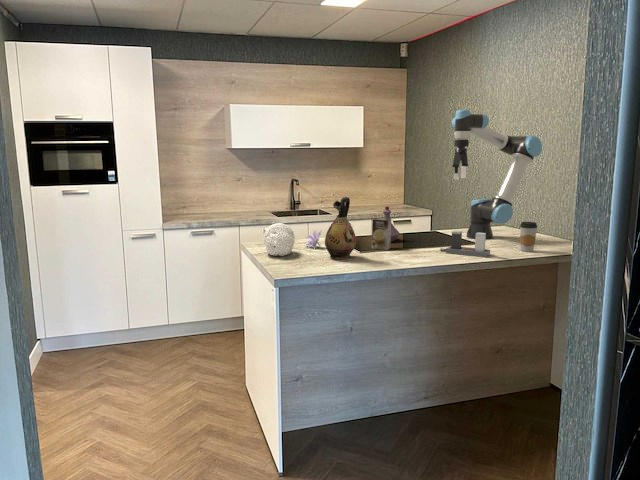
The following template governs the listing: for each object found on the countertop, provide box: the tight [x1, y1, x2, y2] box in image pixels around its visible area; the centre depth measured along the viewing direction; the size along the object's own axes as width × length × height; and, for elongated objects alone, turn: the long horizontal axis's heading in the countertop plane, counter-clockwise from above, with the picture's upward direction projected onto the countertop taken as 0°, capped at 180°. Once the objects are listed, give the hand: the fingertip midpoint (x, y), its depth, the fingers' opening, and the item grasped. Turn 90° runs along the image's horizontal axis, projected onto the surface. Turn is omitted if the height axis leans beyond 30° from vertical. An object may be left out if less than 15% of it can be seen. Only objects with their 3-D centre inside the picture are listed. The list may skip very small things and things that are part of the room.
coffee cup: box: [519, 221, 538, 253], centre depth 264 cm, size 8×8×15 cm
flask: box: [382, 206, 401, 243], centre depth 295 cm, size 16×16×20 cm
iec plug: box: [474, 233, 487, 252], centre depth 252 cm, size 4×4×11 cm
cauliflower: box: [262, 222, 296, 257], centre depth 259 cm, size 20×18×16 cm
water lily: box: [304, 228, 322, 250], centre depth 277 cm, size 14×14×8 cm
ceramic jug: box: [324, 196, 357, 260], centre depth 250 cm, size 17×15×30 cm
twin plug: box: [450, 230, 463, 249], centre depth 258 cm, size 4×4×11 cm
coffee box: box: [371, 217, 392, 251], centre depth 272 cm, size 9×6×16 cm
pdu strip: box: [439, 245, 491, 259], centre depth 257 cm, size 9×24×4 cm, turn 59°
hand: (459, 178), depth 278 cm, fingers open, 13 cm apart
